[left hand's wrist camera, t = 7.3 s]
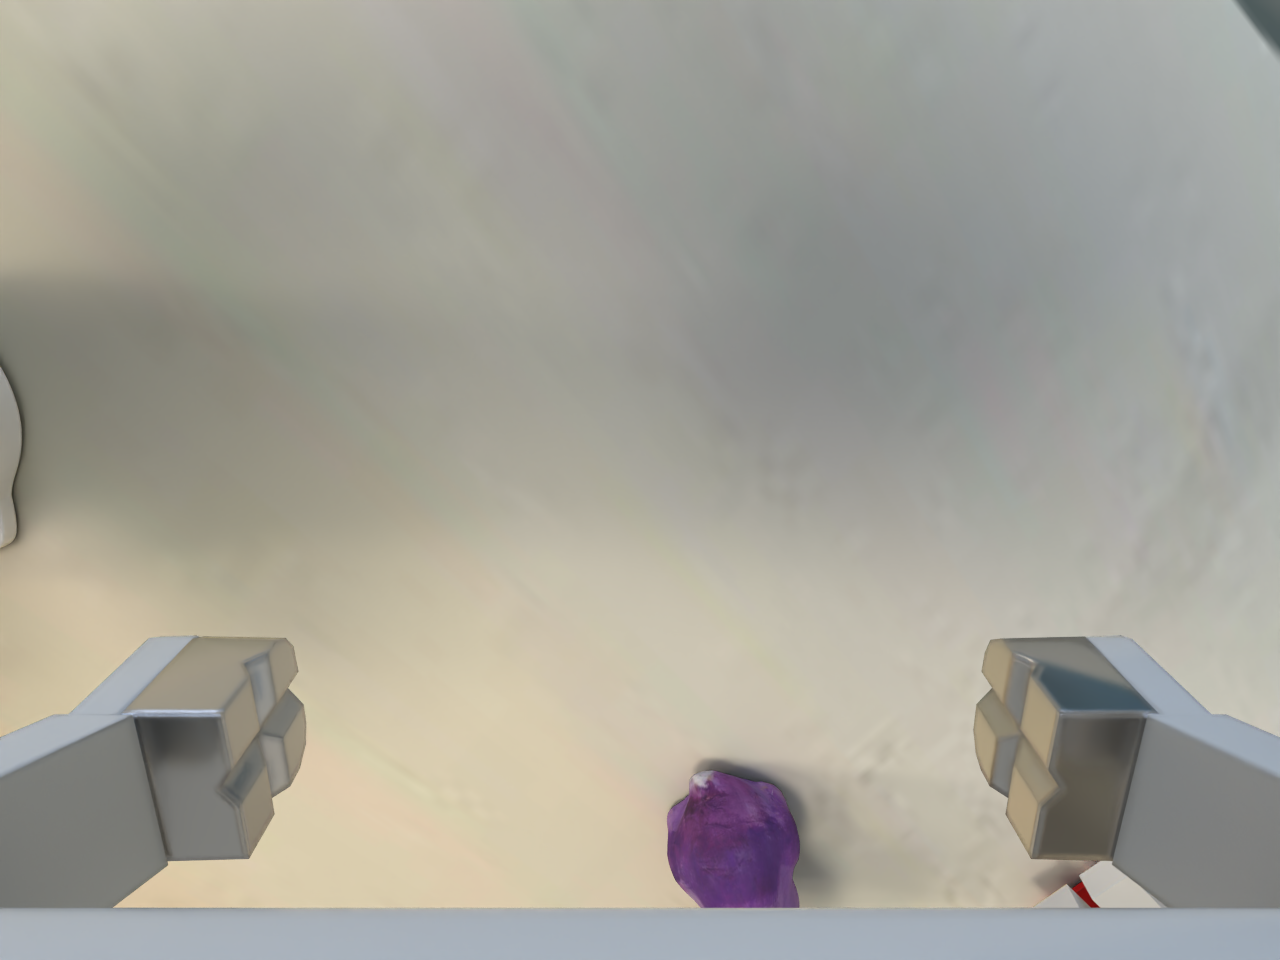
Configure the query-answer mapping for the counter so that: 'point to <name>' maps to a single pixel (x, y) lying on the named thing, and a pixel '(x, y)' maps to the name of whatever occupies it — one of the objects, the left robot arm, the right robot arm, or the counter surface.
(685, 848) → the figurine
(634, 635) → the counter surface
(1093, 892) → the toy
